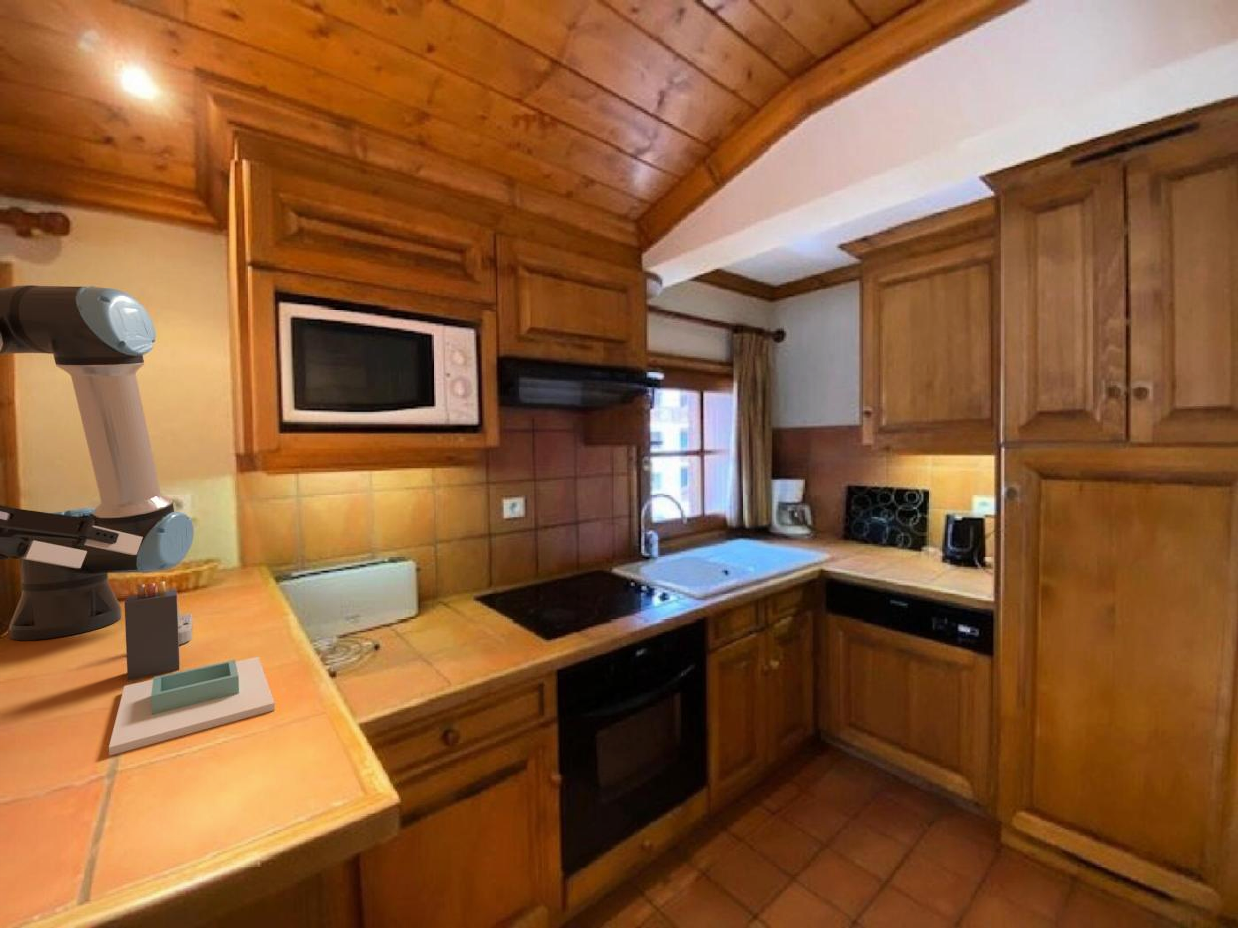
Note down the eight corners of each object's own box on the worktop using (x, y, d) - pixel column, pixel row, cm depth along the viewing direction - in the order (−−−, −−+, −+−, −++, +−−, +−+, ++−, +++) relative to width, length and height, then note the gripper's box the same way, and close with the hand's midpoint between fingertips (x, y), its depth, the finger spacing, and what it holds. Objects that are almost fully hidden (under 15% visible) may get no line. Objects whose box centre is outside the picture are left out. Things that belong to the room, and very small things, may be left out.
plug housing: (129, 671, 82) (126, 584, 82) (179, 661, 86) (176, 577, 86) (127, 680, 79) (123, 589, 79) (179, 669, 83) (176, 582, 83)
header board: (124, 692, 75) (123, 668, 75) (258, 662, 86) (258, 641, 85) (109, 755, 60) (107, 725, 60) (274, 710, 70) (273, 684, 70)
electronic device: (190, 576, 105) (189, 590, 94) (193, 625, 105) (191, 644, 94) (155, 581, 102) (149, 596, 90) (158, 631, 102) (152, 652, 90)
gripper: (-169, 556, 65) (51, 588, 83) (-62, 521, 57) (154, 564, 75) (-134, 500, 68) (70, 542, 86) (-29, 460, 61) (171, 515, 78)
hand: (110, 553), depth 81 cm, fingers open, 13 cm apart
